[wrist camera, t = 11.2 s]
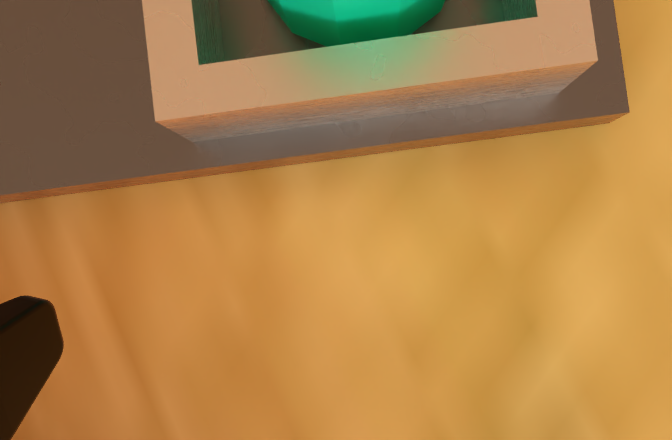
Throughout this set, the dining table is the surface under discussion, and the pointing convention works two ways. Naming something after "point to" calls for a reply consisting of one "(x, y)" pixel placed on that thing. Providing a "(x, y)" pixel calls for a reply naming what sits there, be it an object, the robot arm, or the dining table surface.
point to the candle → (354, 18)
